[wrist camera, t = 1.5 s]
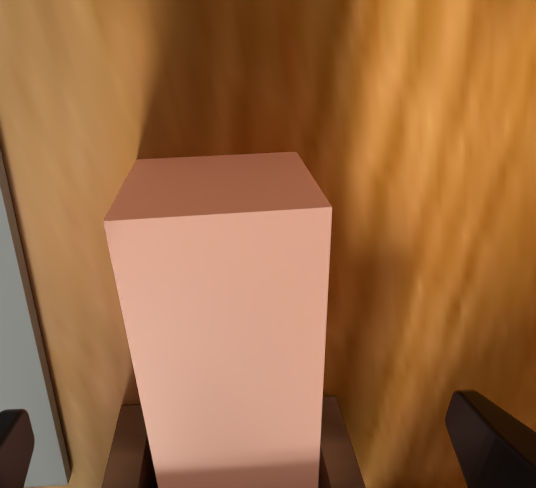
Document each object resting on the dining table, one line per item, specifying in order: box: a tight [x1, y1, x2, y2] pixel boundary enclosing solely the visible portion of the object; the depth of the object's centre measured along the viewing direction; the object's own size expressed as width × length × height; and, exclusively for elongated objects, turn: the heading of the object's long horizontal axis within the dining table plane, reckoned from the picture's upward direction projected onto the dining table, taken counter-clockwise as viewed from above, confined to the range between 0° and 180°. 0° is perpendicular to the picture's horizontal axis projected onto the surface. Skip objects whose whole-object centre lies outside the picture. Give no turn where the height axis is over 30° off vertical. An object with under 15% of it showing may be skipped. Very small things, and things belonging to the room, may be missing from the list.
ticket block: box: [103, 152, 332, 488], centre depth 16 cm, size 5×17×5 cm, turn 1°
